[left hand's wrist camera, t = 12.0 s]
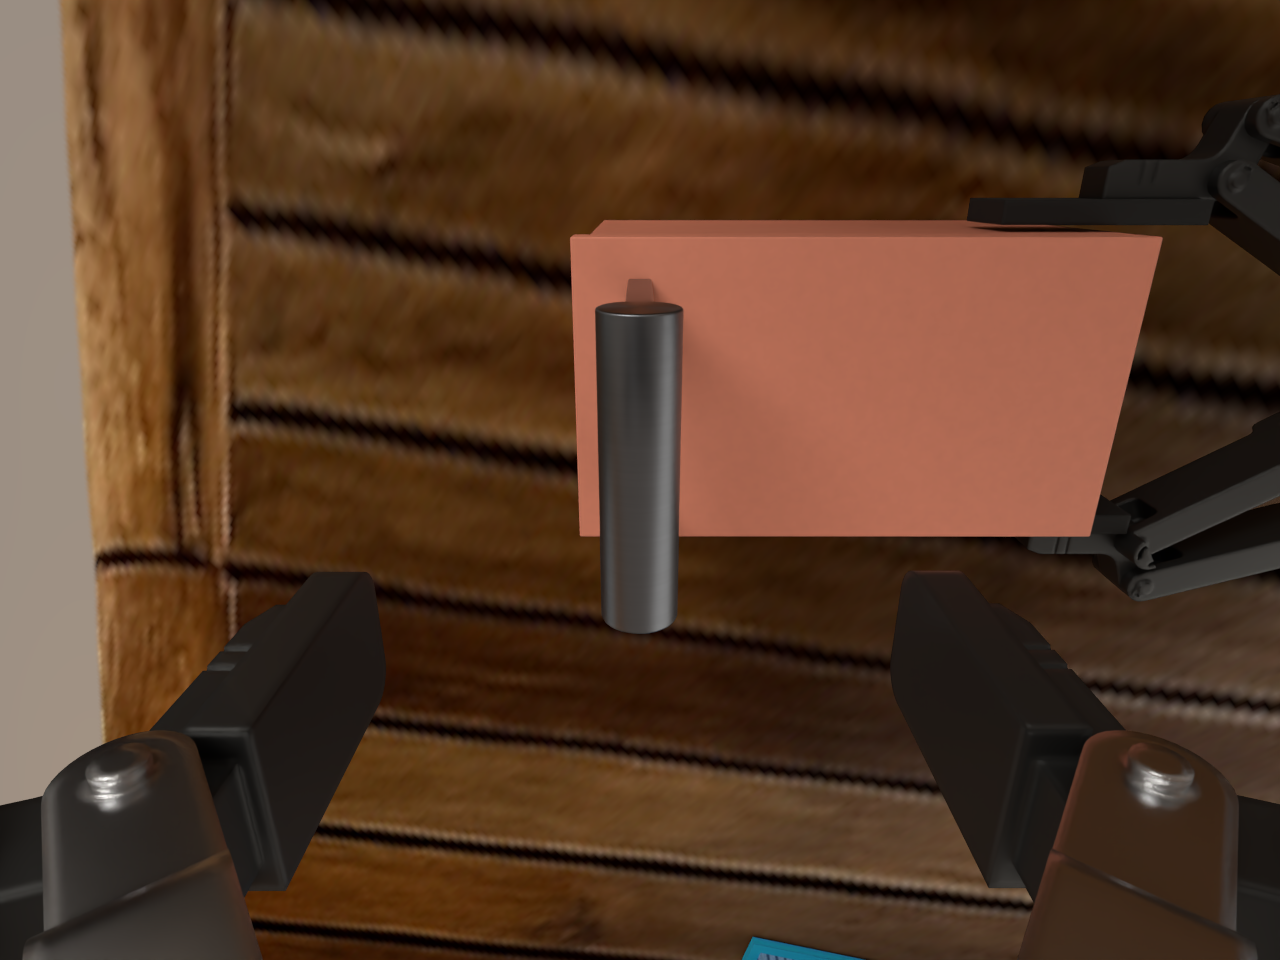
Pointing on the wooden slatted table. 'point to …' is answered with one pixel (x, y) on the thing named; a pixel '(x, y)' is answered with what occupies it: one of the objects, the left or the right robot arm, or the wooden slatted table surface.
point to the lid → (842, 390)
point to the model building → (787, 952)
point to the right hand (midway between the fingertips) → (959, 371)
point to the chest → (829, 228)
